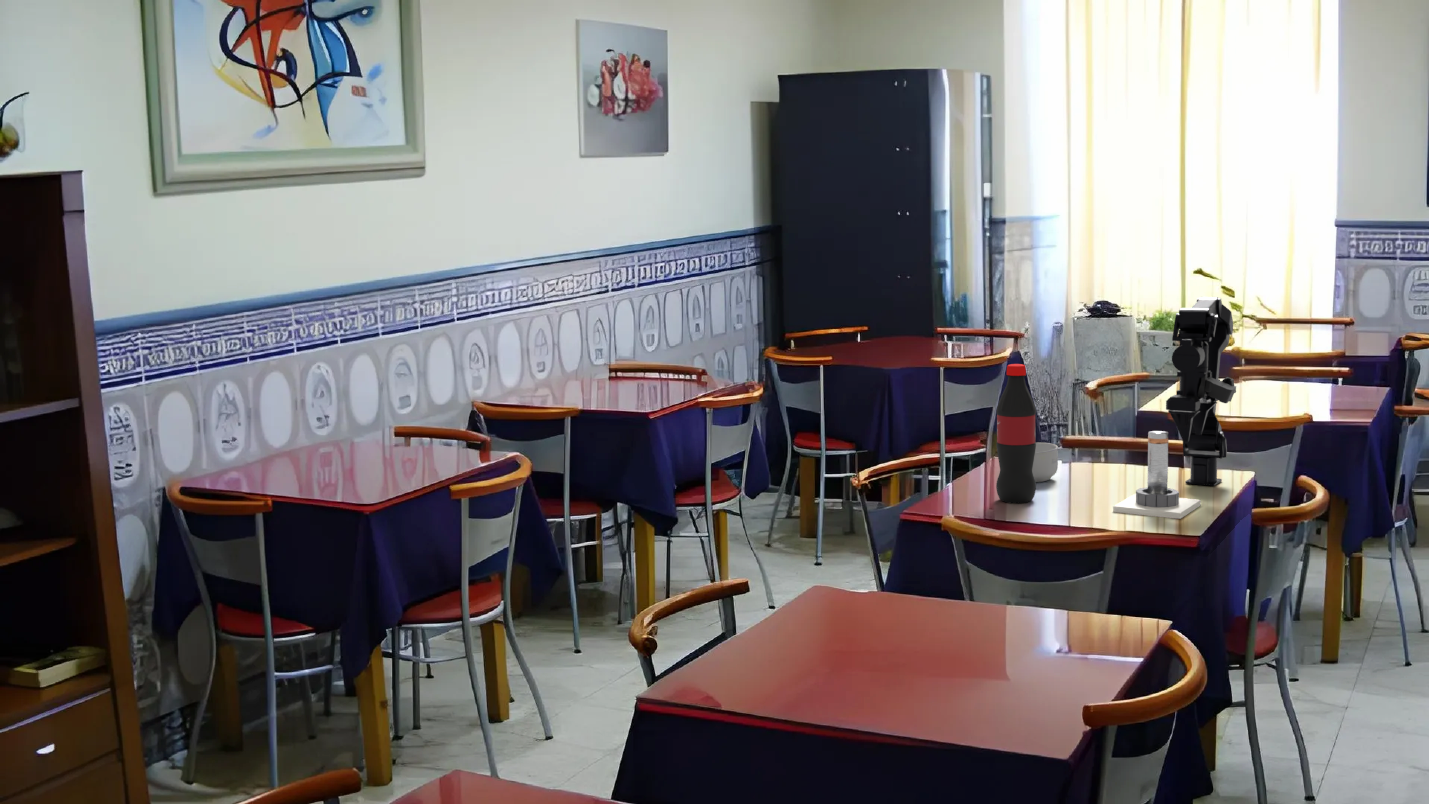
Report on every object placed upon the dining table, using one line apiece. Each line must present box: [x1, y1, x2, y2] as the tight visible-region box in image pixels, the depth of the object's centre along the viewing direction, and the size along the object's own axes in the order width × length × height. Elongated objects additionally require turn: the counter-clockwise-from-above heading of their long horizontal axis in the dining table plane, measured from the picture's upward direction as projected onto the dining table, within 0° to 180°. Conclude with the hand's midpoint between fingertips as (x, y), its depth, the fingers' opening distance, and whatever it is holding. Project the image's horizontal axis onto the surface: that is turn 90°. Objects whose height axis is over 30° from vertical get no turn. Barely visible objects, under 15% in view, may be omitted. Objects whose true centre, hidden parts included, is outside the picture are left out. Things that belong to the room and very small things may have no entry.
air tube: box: [1147, 430, 1169, 494], centre depth 304 cm, size 4×4×15 cm
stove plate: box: [1112, 486, 1202, 520], centre depth 305 cm, size 14×14×4 cm
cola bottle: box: [995, 363, 1037, 504], centre depth 315 cm, size 8×8×30 cm
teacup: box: [1032, 442, 1059, 483], centre depth 339 cm, size 14×11×8 cm
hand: (1192, 438), depth 313 cm, fingers open, 9 cm apart
